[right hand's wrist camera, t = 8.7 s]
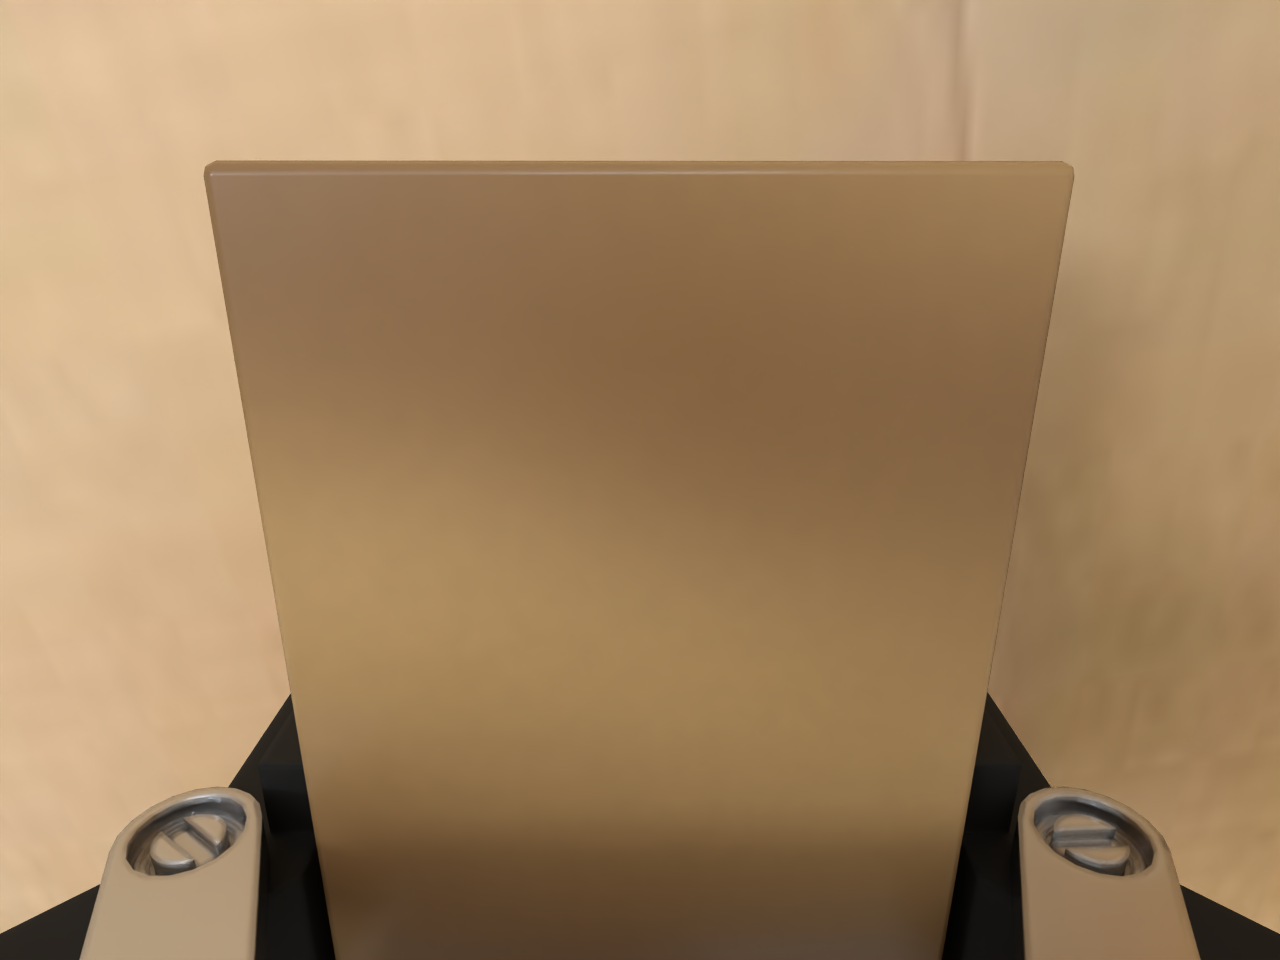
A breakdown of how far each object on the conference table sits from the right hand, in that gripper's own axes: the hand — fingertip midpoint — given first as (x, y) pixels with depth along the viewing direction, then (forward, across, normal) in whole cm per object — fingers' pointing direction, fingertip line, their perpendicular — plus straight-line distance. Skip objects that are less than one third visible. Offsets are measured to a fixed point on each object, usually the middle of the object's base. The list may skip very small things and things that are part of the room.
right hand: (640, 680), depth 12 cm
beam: (+2, 0, -18) cm, 18 cm away
